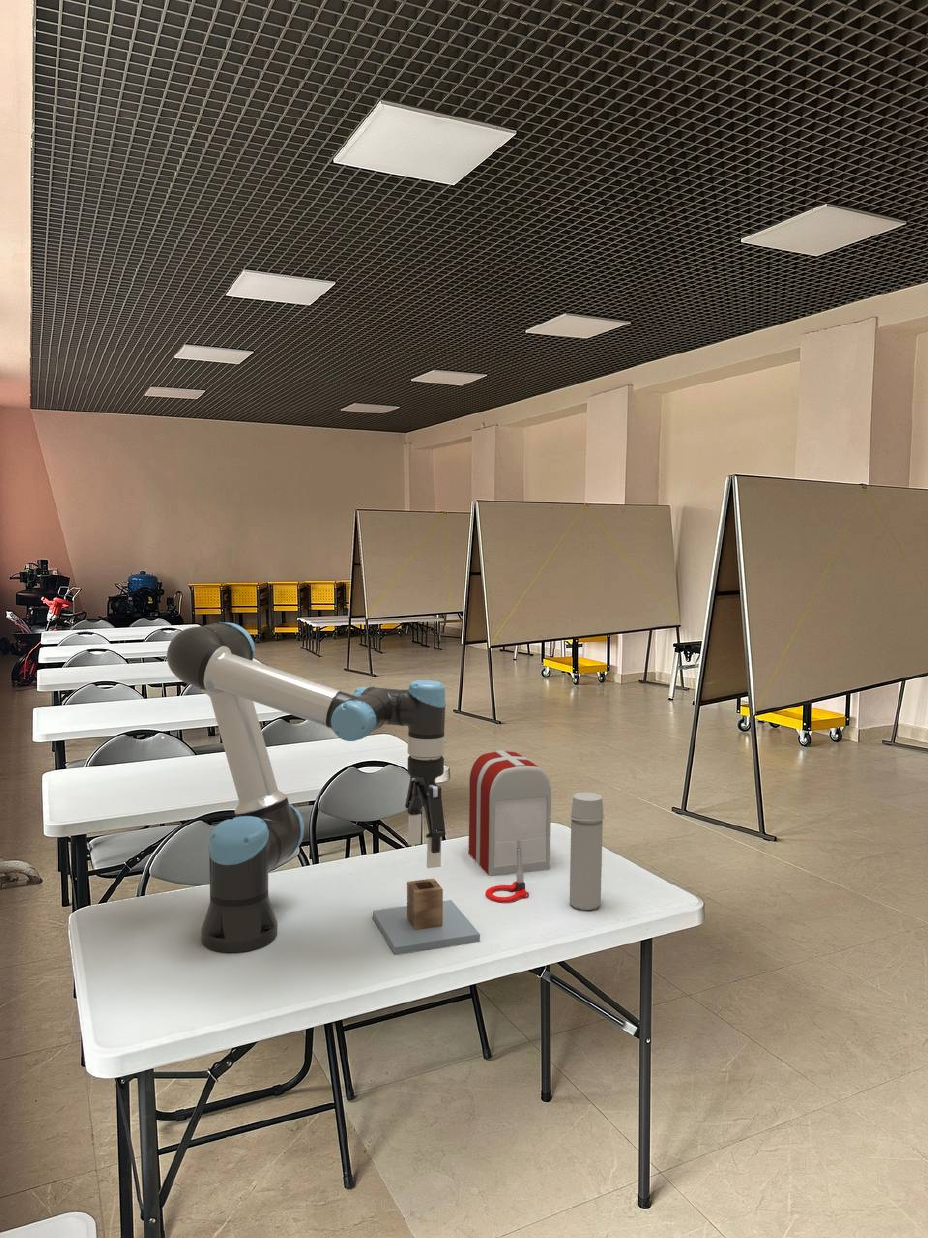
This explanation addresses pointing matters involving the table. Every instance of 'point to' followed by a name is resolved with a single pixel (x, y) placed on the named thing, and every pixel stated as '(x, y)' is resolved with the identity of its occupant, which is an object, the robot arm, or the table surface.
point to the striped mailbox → (509, 813)
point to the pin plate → (424, 930)
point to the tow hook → (517, 885)
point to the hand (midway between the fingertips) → (423, 855)
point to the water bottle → (586, 851)
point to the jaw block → (424, 904)
